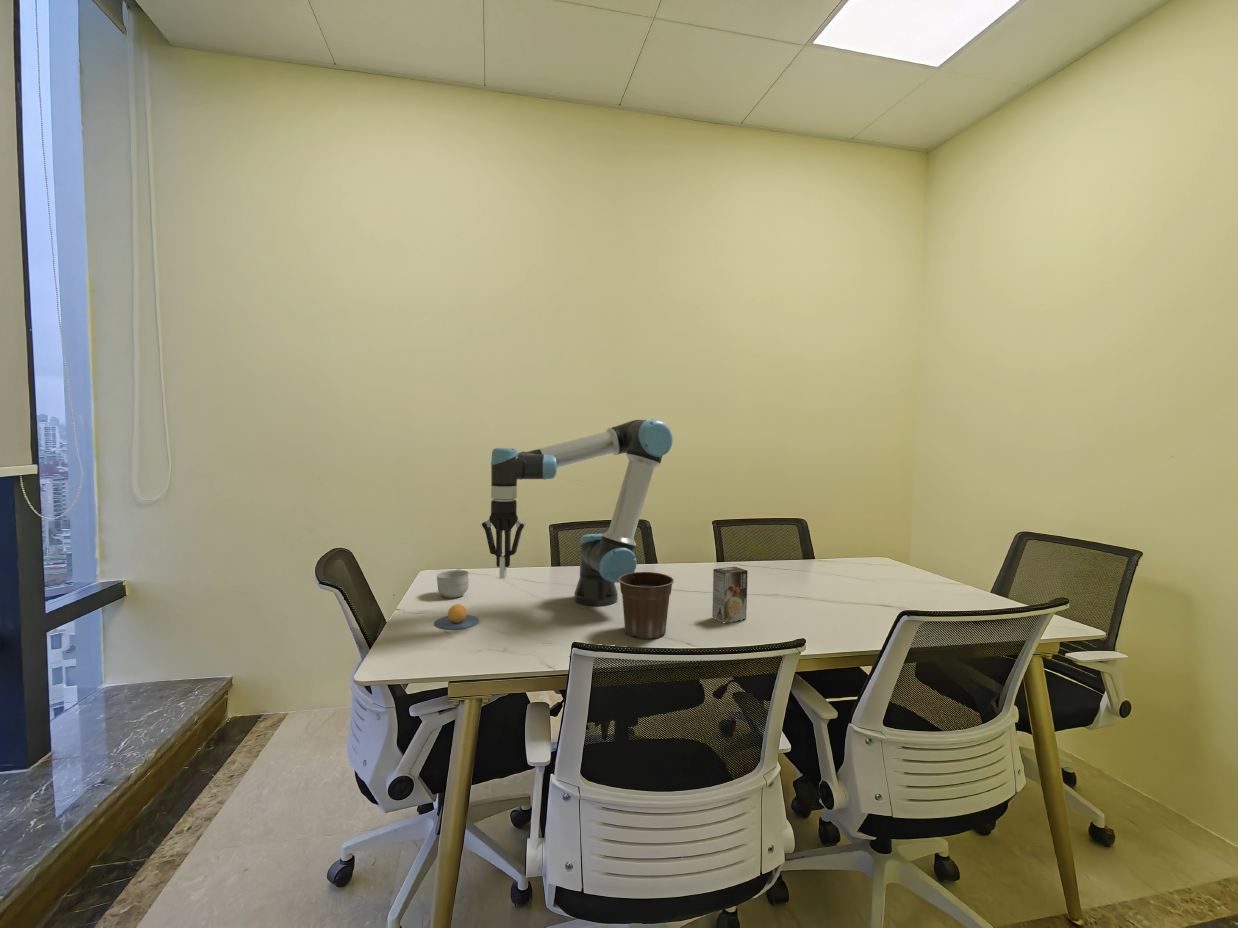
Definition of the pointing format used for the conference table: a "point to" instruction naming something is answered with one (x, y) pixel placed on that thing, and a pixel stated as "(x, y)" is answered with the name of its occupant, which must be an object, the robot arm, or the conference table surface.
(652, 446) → the robot arm
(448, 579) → the teacup
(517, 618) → the conference table surface
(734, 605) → the coffee box
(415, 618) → the conference table surface
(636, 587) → the plant pot
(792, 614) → the conference table surface
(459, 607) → the ball
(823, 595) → the conference table surface
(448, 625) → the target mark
